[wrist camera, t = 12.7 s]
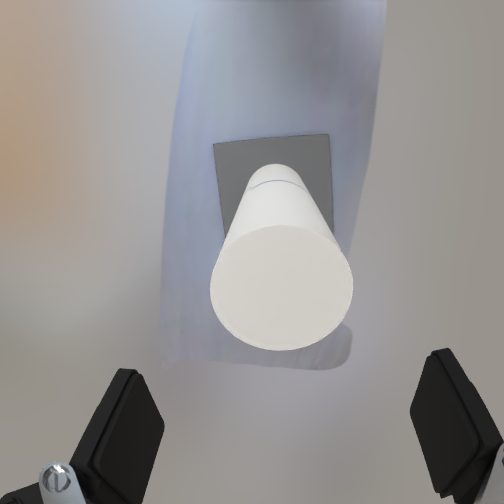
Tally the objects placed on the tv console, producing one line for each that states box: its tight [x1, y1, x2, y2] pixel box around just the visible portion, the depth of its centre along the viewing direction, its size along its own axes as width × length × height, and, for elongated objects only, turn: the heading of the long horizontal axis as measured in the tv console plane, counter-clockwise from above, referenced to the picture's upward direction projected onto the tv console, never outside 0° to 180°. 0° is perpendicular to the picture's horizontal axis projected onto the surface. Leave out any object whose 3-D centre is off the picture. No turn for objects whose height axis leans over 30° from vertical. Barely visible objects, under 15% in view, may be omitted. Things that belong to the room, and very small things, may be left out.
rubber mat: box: [213, 134, 333, 239], centre depth 39 cm, size 14×14×1 cm
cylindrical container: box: [210, 164, 353, 351], centre depth 27 cm, size 7×7×25 cm
